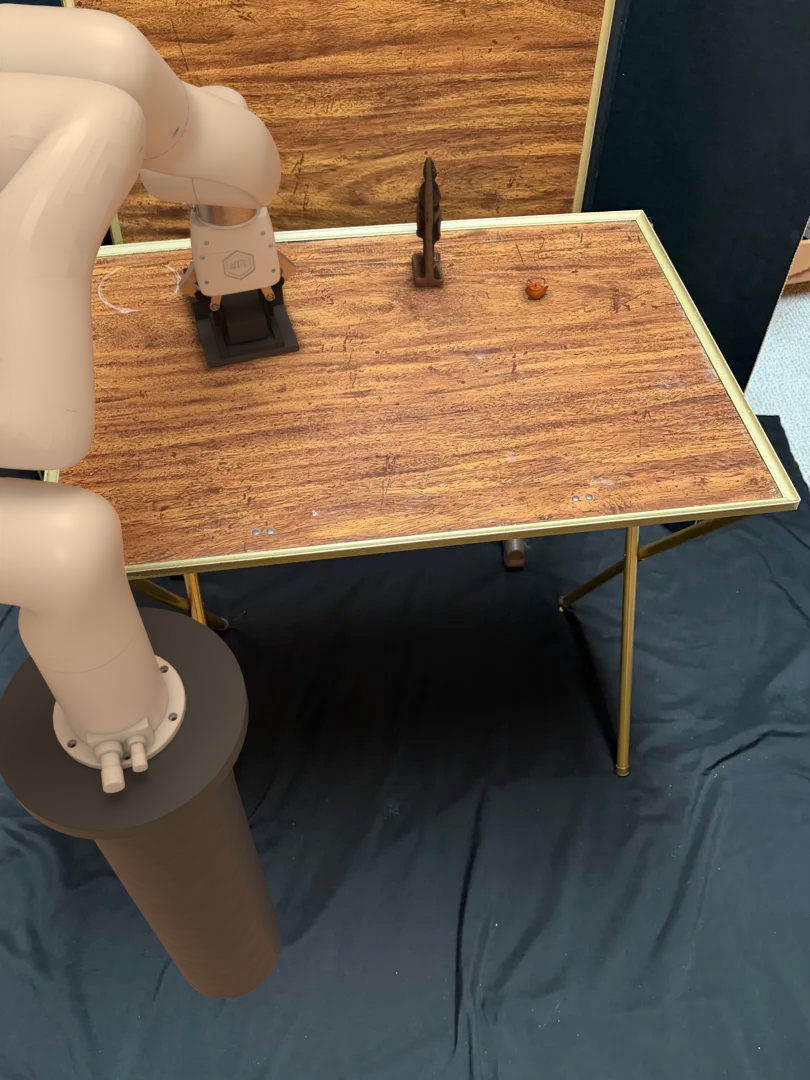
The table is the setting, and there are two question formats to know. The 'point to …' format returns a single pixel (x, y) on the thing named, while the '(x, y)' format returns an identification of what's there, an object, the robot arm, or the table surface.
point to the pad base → (226, 353)
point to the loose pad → (244, 317)
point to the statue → (428, 229)
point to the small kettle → (534, 290)
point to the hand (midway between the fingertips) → (244, 322)
